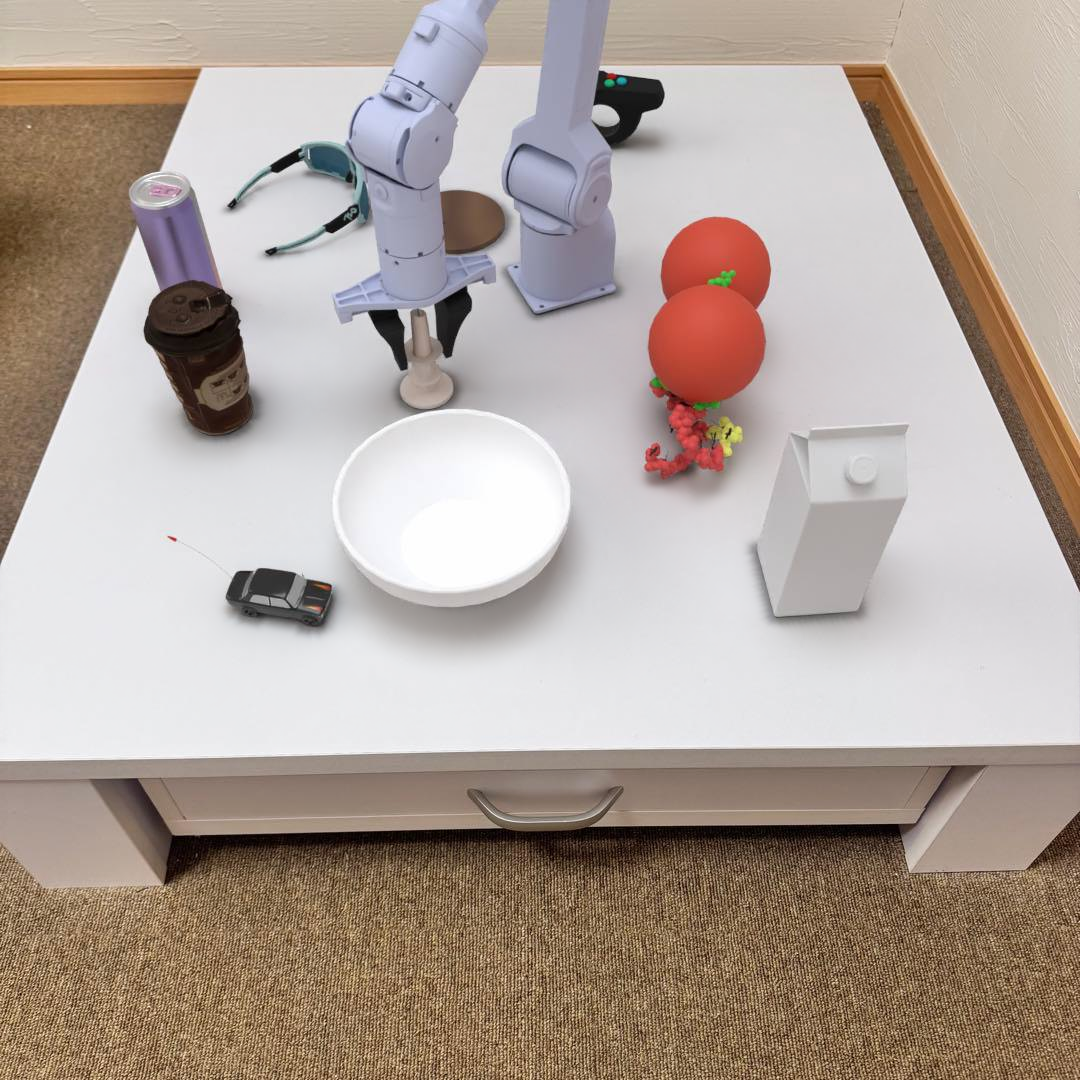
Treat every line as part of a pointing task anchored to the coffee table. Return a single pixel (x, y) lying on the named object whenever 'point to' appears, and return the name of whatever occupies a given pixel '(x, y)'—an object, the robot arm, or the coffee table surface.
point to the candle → (424, 367)
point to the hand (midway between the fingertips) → (423, 357)
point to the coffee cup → (201, 354)
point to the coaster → (469, 221)
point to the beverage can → (172, 229)
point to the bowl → (452, 507)
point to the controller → (626, 102)
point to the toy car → (278, 594)
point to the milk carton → (832, 516)
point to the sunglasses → (325, 161)
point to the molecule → (707, 334)
